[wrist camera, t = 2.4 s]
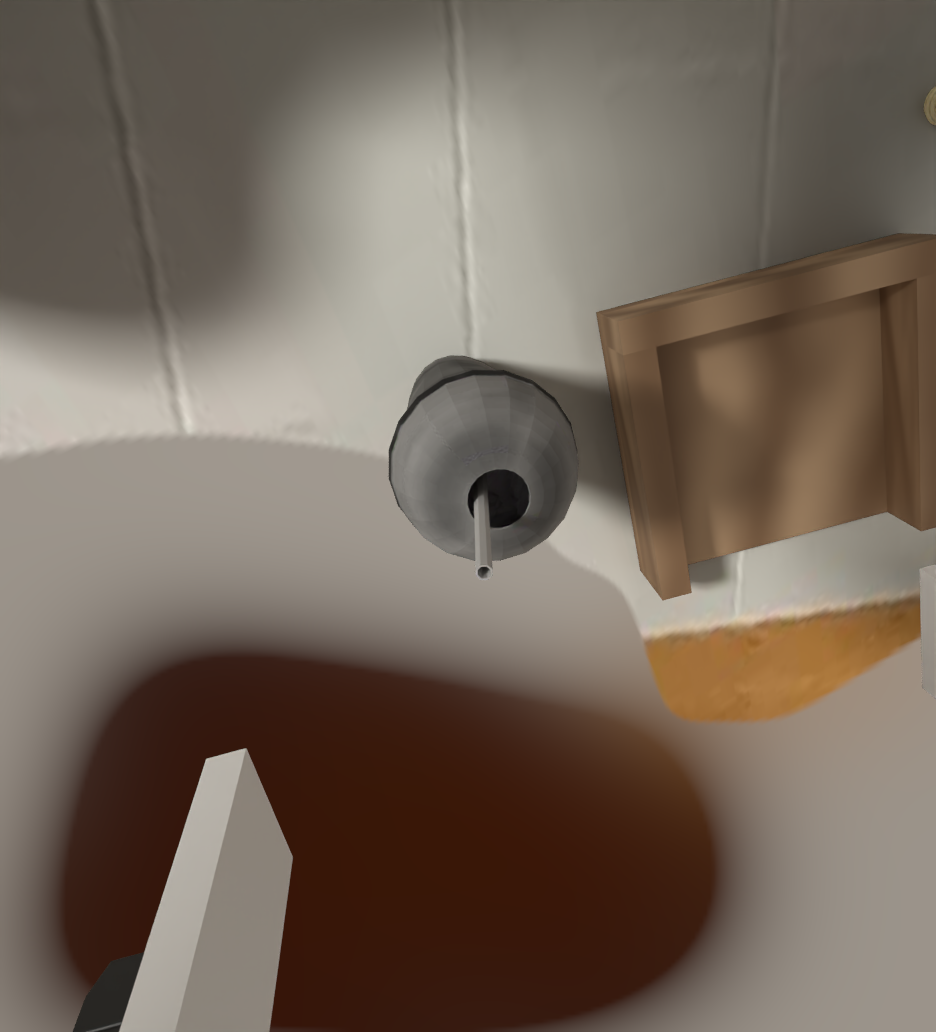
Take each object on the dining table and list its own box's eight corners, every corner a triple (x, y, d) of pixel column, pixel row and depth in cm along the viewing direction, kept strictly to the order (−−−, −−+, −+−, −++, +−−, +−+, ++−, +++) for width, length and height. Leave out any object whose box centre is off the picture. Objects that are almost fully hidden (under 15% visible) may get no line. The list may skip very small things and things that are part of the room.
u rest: (640, 570, 45) (662, 600, 42) (596, 312, 40) (617, 321, 36) (905, 499, 45) (949, 523, 42) (898, 233, 40) (949, 235, 36)
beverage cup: (546, 429, 41) (684, 602, 23) (423, 488, 42) (460, 705, 23) (490, 302, 39) (595, 380, 20) (359, 366, 39) (344, 501, 21)
